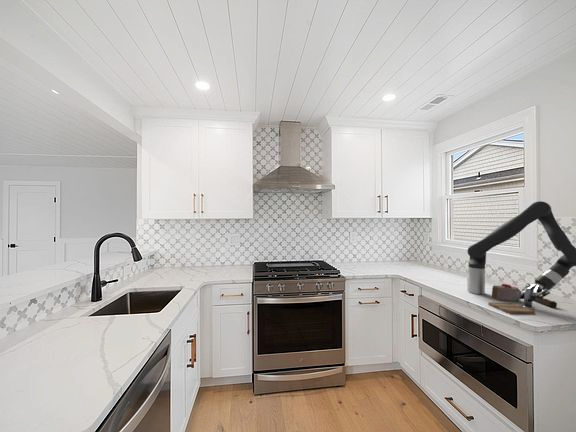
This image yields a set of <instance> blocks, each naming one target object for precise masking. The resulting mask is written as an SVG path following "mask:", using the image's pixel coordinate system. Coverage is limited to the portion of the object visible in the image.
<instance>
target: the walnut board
mask: <svg viewBox="0 0 576 432" xmlns="http://www.w3.org/2000/svg"><path fill="white" fill-rule="evenodd" d="M488 306H490V307H491V308H492V307H493V308H495V309H497V310H498V311H499V310H500V311H502V312H504V313H506V314H508V313H509V315H536V310H530V309H528V308H525V307H522V306H521V305H519V304H516V303H514V302H494V301H493V302H490V301H489V302H488Z"/></svg>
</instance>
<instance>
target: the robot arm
mask: <svg viewBox="0 0 576 432" xmlns="http://www.w3.org/2000/svg"><path fill="white" fill-rule="evenodd" d="M536 220H538V221H539V222H540V224H541V225H542V227H543V228H544V230H545V232H546V234H547V236H548V238H549V240H550V242H551V243H552V245H553V247H554V248H555V250H557V251H559V252H561V253H562V255H561V256H560V257H559V258H558V259H557V260H556V261H555V263H554V264H553V265H552V266H551V267H549V268H548V269H546V271H544V272H542V273H541V274H540V275H538V277H536V278H535V280H534V283H532V284H531V283H526V285H525V286H524V287H523V288H522V289H521V290H522V291H521V292H522V294H521V295H520V296H519V297H520V298H521V300H524V288H529V289H532V295H533V296H532V295H531V296H530V297H529V298H527V301H528V302H530V303H531V302H532V303H533V300H535V299H537V298H539V299H541V298H544V297H546V296H549V294H551V292H550V290H551V289H553V288H554V287H556V286H557V285H558V284H559V283H560V282H561V281H562V280H563V279H564V278H565V277H567V276H568V274H569V273H570V270H571V269H572V268H574V267H576V247H575V246H574V245H573V244H572V242H571V240H570V239H569V238H568V236H567V234H566V233H565V232H564V230H563V229H562V228H561V226H560V225H559V223H558V221H557V220H556V219H555V215H554V213H553V211H552V207H551V205H550V204H549V203H547V202H546V201H540V200H539V201H535V202H533V203H531V204H530V205H529V206H528V207H527V208H526V209H524V210H523V211H522V212H520V213H519V214H518V215H516V216H514V217H513V218H510V219H509V220H507V221H505V222H504V223H502V224H501V225H499V226H498V227H497V228H495V229H494V230H492V231H491V232H490V233H489V234H488V235H486V236H485V237H484V238H482V239H481V240H480V241H476V243H475V242H474V244H472V245H469V247H468V248H467V251H466V252H467V254H468V256H469V261H468V274H467V275H468V276H467V291H468V292H469V293H471V294H475V295H485V294H486V263H487V252H488V251H490V250H491V249H493V248H494V247H496V246H498V245H501V244H503V243H505V242H507V241H509V240H510V239H512V238H513V237H515V236H516V235H518V234H519V233H521V232H522V231H523V230H524V229H526V227H527V226H528V225H530V224H531V223H533V222H535V221H536Z"/></svg>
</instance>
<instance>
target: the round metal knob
mask: <svg viewBox="0 0 576 432" xmlns="http://www.w3.org/2000/svg"><path fill="white" fill-rule="evenodd" d="M523 288H524V287H523ZM531 295H532V289H529V288H524V299H523V304H521V305H520V306H522V307H525V308H528V309H530V310H533V311H536V307H535V306H533V301H532V302H531V303H530V302H528V301H527V298H529V297H530V296H531Z"/></svg>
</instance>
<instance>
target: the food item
mask: <svg viewBox="0 0 576 432" xmlns="http://www.w3.org/2000/svg"><path fill="white" fill-rule="evenodd" d="M522 293H523V291H521V290H520V289H519V287H517V286H514V285H513V286H511V285H510V284H507V283H502V284H501V285H493V286H492V289H491V298H493V299H494V300H497V301H507V302H512V301H513V302H516V301H517V302H518V301H521V300H522V299H521V298H520V297H519V296H520V295H521V294H522Z"/></svg>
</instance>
